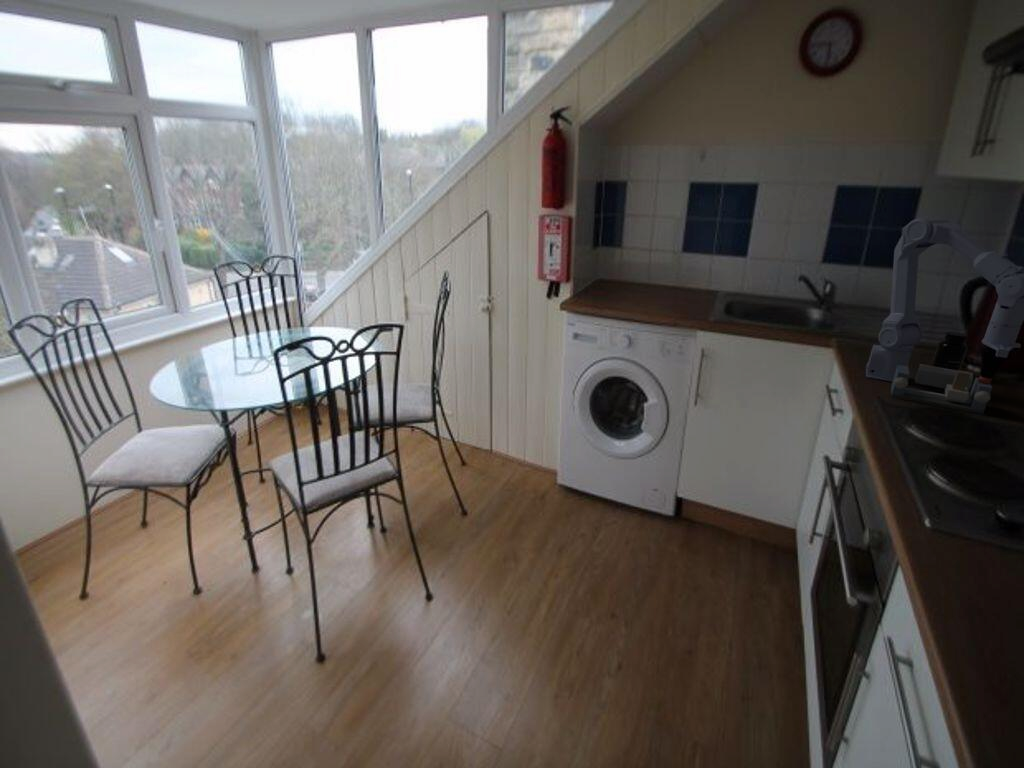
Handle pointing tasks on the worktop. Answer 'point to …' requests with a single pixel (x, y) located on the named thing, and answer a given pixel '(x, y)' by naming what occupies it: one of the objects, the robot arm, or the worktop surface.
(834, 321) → the worktop surface
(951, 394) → the carriage
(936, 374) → the skincare box
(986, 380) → the plunger
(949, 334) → the supplement bottle
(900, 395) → the rail stand
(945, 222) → the robot arm
